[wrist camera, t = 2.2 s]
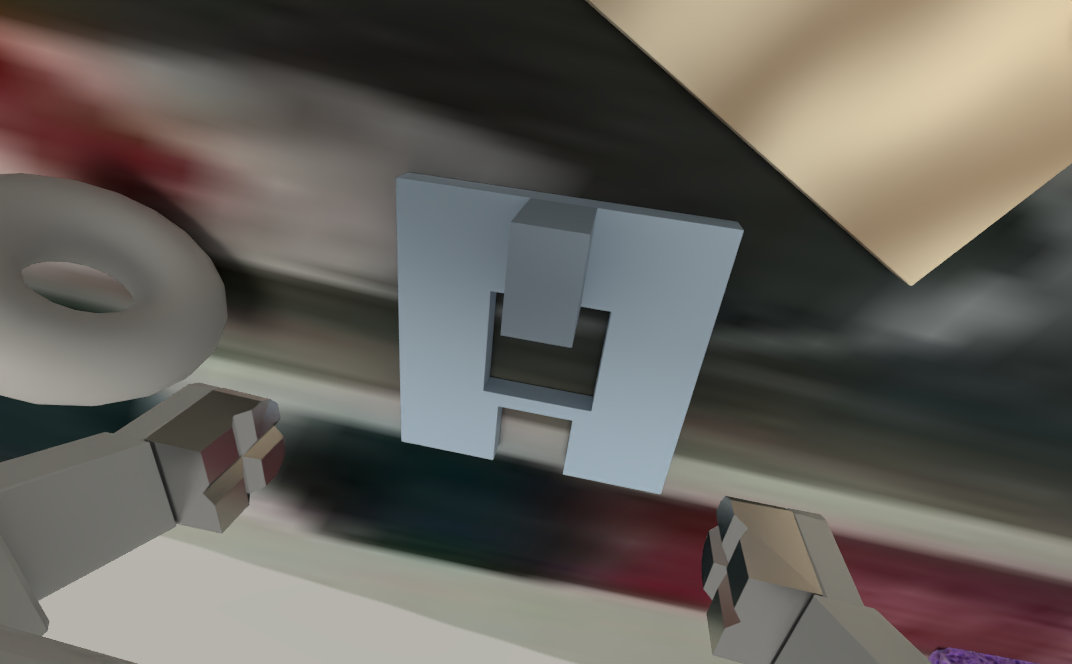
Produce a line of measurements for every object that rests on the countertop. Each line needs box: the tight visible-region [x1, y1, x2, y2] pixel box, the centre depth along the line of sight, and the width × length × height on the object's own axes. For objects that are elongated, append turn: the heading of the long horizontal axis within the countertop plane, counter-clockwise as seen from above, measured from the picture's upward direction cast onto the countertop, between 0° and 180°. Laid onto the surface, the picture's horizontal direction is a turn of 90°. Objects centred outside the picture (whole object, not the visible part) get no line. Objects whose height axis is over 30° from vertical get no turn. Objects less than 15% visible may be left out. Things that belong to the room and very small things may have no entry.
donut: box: [0, 173, 228, 406], centre depth 19 cm, size 10×4×10 cm, turn 44°
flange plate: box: [396, 172, 744, 494], centre depth 20 cm, size 13×13×5 cm
